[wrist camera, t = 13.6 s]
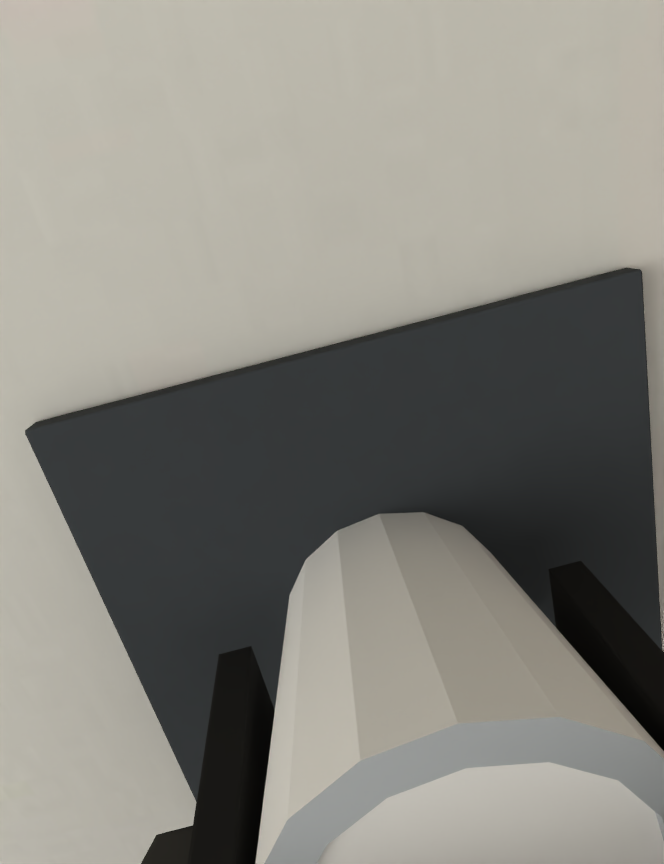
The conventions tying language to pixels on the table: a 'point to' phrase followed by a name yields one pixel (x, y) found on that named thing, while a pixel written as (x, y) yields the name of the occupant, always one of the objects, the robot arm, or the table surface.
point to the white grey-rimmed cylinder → (445, 717)
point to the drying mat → (362, 476)
